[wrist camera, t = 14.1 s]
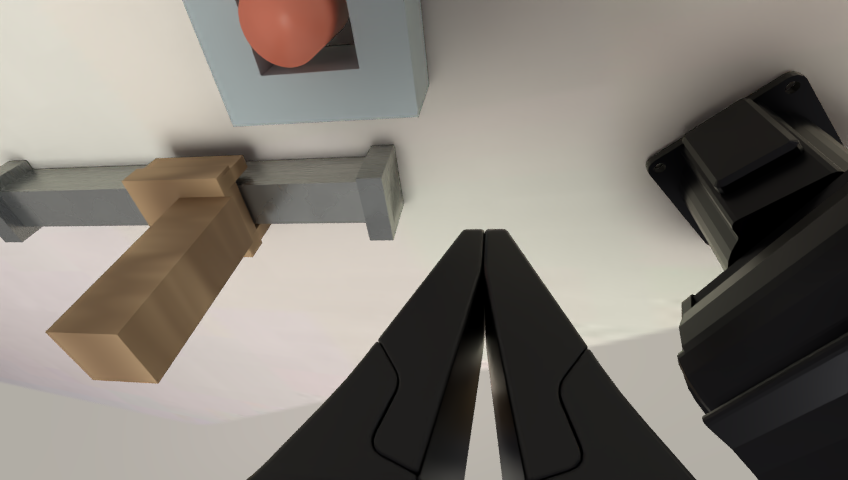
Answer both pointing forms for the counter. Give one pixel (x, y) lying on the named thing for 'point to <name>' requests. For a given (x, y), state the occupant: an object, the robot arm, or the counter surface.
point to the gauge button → (291, 27)
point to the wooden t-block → (163, 270)
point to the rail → (259, 184)
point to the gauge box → (319, 67)
